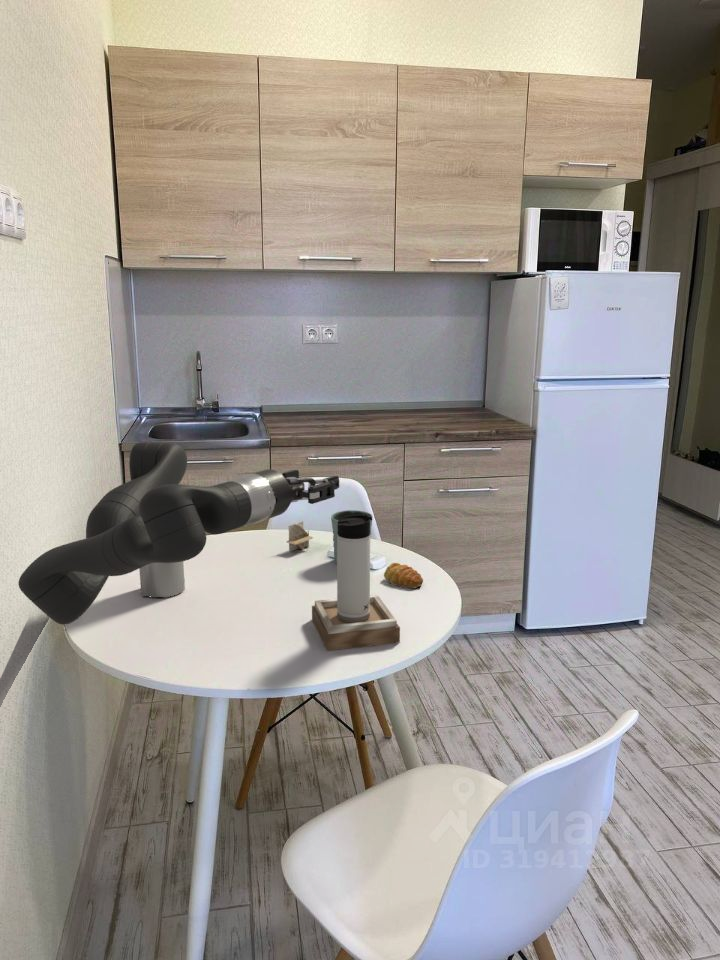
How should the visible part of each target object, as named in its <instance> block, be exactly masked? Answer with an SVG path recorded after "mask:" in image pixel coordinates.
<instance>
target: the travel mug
mask: <svg viewBox="0 0 720 960" xmlns="http://www.w3.org/2000/svg"><path fill="white" fill-rule="evenodd" d="M370 520H371V521H372V522H373V516H372V517H371V516H370V515H352V516H347V517H344V518H341V519H340V520H338V524H337V529H338V531H337V564H336V573H337V574H336V576H337V577H336V582H337V583H336V586H337V587H336V589H337V590H336V593H337V594H336V597H337V598H336V599H337V608H338V609H337V616H338V618H339V619H340V620H342V621H344V622H348V623H359V622H363V621H365V620H367V619H368V618H369V616H370V595H371V539H370Z"/></svg>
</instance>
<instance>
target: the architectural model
mask: <svg viewBox="0 0 720 960" xmlns="http://www.w3.org/2000/svg"><path fill="white" fill-rule="evenodd" d="M312 539H314V537H313V536H310V531H309V530H307V531H306V530H305V529H304V521H303V520H301V521H299V522H297V523H292V524H291V525H288V540H286V543H287V544H288V552H289V553H290V552H293V551H295V550H298V549H301V550H305V548H310V540H312Z"/></svg>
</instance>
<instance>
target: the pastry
mask: <svg viewBox="0 0 720 960" xmlns="http://www.w3.org/2000/svg"><path fill="white" fill-rule="evenodd" d="M383 577H384V578H385V580H386V582H387V583H390V584H392V585H394V586H398V587H400V586H402V587H401V588H405V587H406V588H405V589H416V588H418V587H421V586H422V585H423V583H424V578H423V577H422V575H421V573H419V572H418V571H417V570H415V569H414V568H413V567H412V566H408V564H401V563H399V562H392V563H391V564H390V565H388V566H387V567H386V569H385V570H384V573H383Z"/></svg>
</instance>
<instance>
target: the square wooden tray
mask: <svg viewBox="0 0 720 960" xmlns="http://www.w3.org/2000/svg"><path fill="white" fill-rule="evenodd" d="M337 609H338V608H337V598H332V599H331V598H330V599H319V600H314V604H313V605H311V620H312V622H313V624H314V627H315V629H316V631H317V633H318V635H319V638H320V639H321V641H322V644H323V646H324V648H325V651H326V652H329V651H338V650H346V649H355V648H356V649H357V648H363V647H371V646H372V647H373V646H379V645H381V646H382V645H389V643H390V644H397V643H396V642H399V643H401V642H400V641H401V627H400V626H399V624H398V621H397V619H396V618H395V616H394V615H393V613H392V612H391V611H390V610H389V609H388V607H387V606H386V604H385V603H384V601H383V600H382V599H381V597H380V596H379V595H378V594H372V595H371V594H370V616H369V618H368V619H367V620H365V621H363V622H359V623H348V622H344V621H342V620H340V619H339V618H338V616H337Z"/></svg>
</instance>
